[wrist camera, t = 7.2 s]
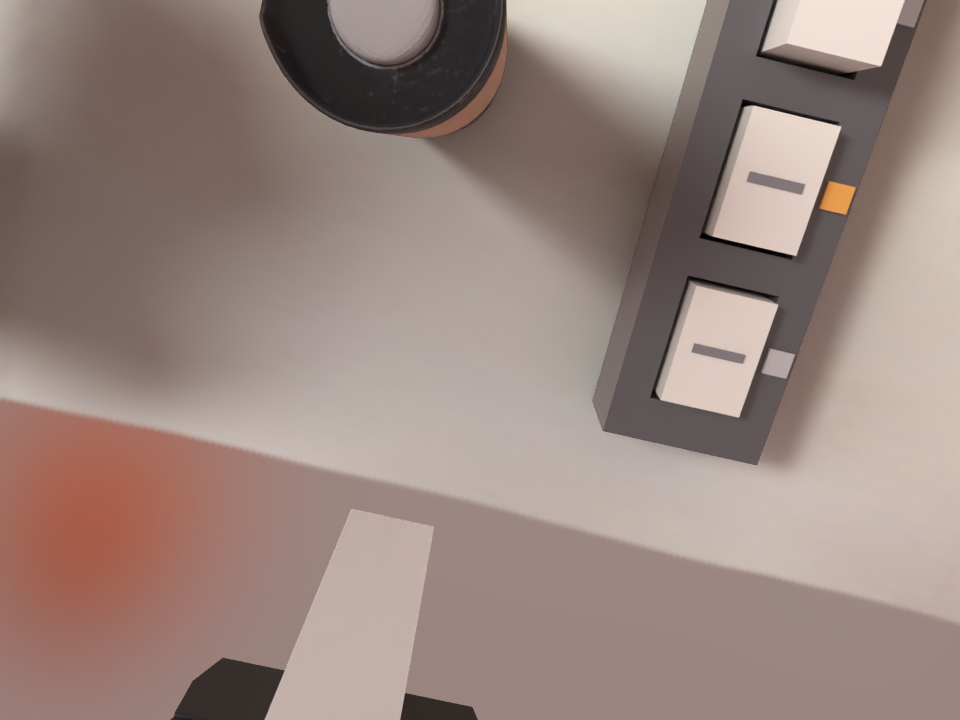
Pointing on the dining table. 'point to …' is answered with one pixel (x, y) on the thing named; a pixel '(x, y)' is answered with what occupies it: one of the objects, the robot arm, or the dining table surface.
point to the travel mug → (391, 60)
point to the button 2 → (770, 179)
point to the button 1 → (714, 346)
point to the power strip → (690, 252)
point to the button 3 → (830, 33)
